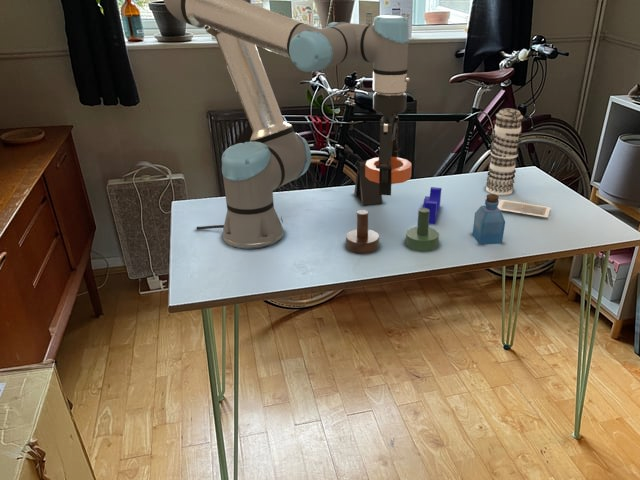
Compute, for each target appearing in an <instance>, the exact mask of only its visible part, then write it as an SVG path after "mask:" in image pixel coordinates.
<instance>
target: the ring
mask: <svg viewBox="0 0 640 480" xmlns="http://www.w3.org/2000/svg"><path fill="white" fill-rule="evenodd" d="M367 160H368V161H367V162H366V164H365V177H366V178H367V179H368V180H370V181H373V182H376V183H379V169H376V165H379V156H378V157H372V158H371V159H367ZM386 164H387V163H386ZM412 167H413V166H412V162H411V161H409V160H408V159H406V158H402V157H398V156H397V157H391V168H392V174H391V185H396V184H403V183H405V182H407V181H410V180H411V177H412Z"/></svg>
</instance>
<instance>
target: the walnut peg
mask: <svg viewBox="0 0 640 480" xmlns="http://www.w3.org/2000/svg"><path fill="white" fill-rule="evenodd" d="M345 248H346V250H347V251H349V252H351V253H353V254H359V255H368V254H372V253H375V252H377V250H379V248H380V234H379V233H378V232H377V231H375V230H373V229H370V228H369V211H368V210H365V209H360V210H357V211H356V229H352V230H350V231H348V232H347V233H346V234H345Z"/></svg>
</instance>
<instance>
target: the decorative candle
mask: <svg viewBox="0 0 640 480" xmlns="http://www.w3.org/2000/svg"><path fill="white" fill-rule="evenodd" d="M495 116H496V117H495V124H494V129H493V130H492V131H491V137H490V140H491V143H490V149H489V151H490V155H491V157H490V161H489V167H488V169H487V177H486V184H485V186H486V187H485V190H486V192H488V193H489V194H495V195H498V196H508V195H510V194H512V193H513V190H514V189H513V188H514V183H515V179H514V178H516V173H517V170H516V165H517V164H516V160H517V157H519V153H520V152H519V150H518V149H519V148H521V145H520V143H521V142H522V139H521V138H520V137H523V133H522V131H523V128H522V120H523V118H524V115H523V114H522V113H521V112H520V110H518V109H516V108H508V107H507V108H501V109H500V110H499V111H498V112H497V113H495Z"/></svg>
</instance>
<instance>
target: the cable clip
mask: <svg viewBox="0 0 640 480" xmlns="http://www.w3.org/2000/svg"><path fill="white" fill-rule="evenodd" d="M441 198H442V187H436V186H435V187H433V186H430V190H429V196H427V195H425V196H424V199H423V204H422V208H427V209H429V210H430V213H429V224H430V225H432V224H433V225H435V224H436V221H437V219H438V218H437V217H438V215H439V211H440V208H441V200H442V199H441Z"/></svg>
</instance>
